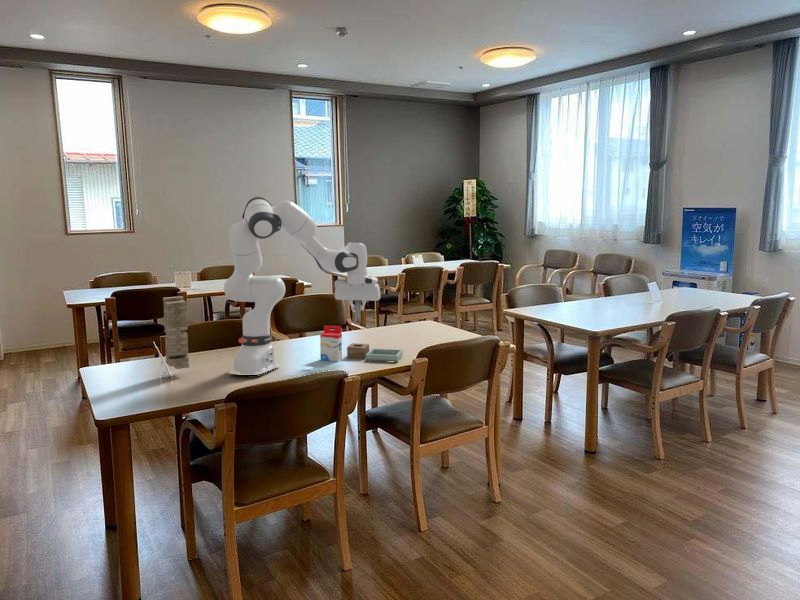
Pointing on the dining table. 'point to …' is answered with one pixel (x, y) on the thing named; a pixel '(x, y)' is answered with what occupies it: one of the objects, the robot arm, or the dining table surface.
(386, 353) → the tray
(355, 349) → the brown wooden box
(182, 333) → the tower
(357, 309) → the pin gauge
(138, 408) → the dining table surface
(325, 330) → the ink box
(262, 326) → the robot arm
